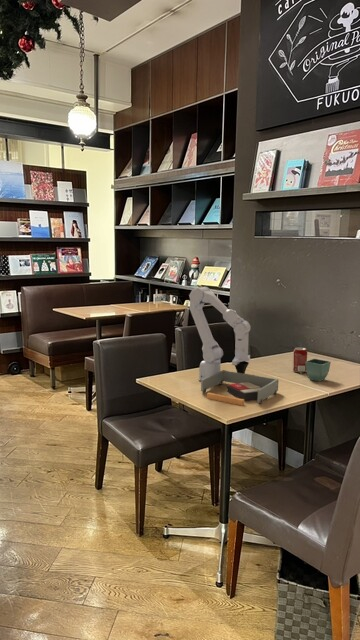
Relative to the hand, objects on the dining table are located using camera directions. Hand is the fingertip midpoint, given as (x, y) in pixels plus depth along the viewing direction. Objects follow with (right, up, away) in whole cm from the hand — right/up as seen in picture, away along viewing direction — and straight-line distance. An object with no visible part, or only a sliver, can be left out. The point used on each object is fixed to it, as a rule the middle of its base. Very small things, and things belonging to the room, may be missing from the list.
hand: (240, 377), depth 208 cm
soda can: (+33, 0, +25) cm, 42 cm away
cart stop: (-9, -7, -23) cm, 25 cm away
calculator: (+1, -6, -13) cm, 15 cm away
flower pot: (+38, -3, +10) cm, 39 cm away
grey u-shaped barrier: (-2, -5, -12) cm, 13 cm away
